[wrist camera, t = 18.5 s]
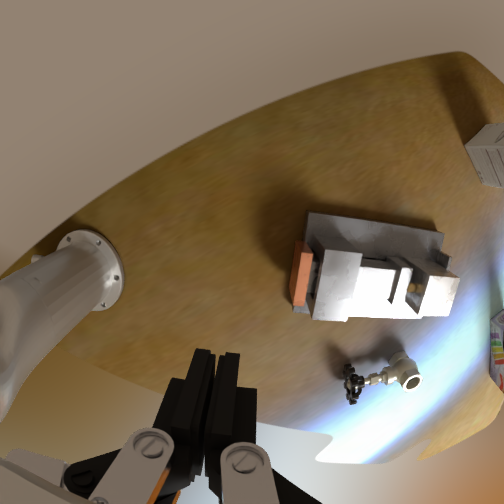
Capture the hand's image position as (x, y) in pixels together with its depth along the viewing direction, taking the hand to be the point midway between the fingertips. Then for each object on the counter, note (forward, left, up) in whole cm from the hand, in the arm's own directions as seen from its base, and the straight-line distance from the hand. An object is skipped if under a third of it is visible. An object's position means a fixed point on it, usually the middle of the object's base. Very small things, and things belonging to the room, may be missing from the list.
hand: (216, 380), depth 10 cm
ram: (+13, -3, -25) cm, 28 cm away
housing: (+23, -3, -25) cm, 34 cm away
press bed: (+17, -3, -27) cm, 32 cm away
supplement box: (+35, +17, -27) cm, 48 cm away
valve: (+23, -19, -27) cm, 41 cm away
